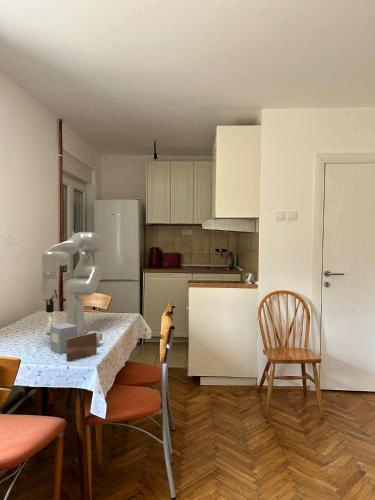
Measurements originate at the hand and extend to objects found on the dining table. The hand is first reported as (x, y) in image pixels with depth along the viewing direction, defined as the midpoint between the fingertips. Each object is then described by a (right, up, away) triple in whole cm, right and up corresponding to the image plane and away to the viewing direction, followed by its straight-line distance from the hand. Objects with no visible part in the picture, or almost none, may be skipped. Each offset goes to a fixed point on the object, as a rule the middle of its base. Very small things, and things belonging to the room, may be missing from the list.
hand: (49, 312), depth 186 cm
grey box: (+10, -17, -8) cm, 21 cm away
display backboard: (+22, -18, -19) cm, 33 cm away
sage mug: (+23, -17, +1) cm, 29 cm away
